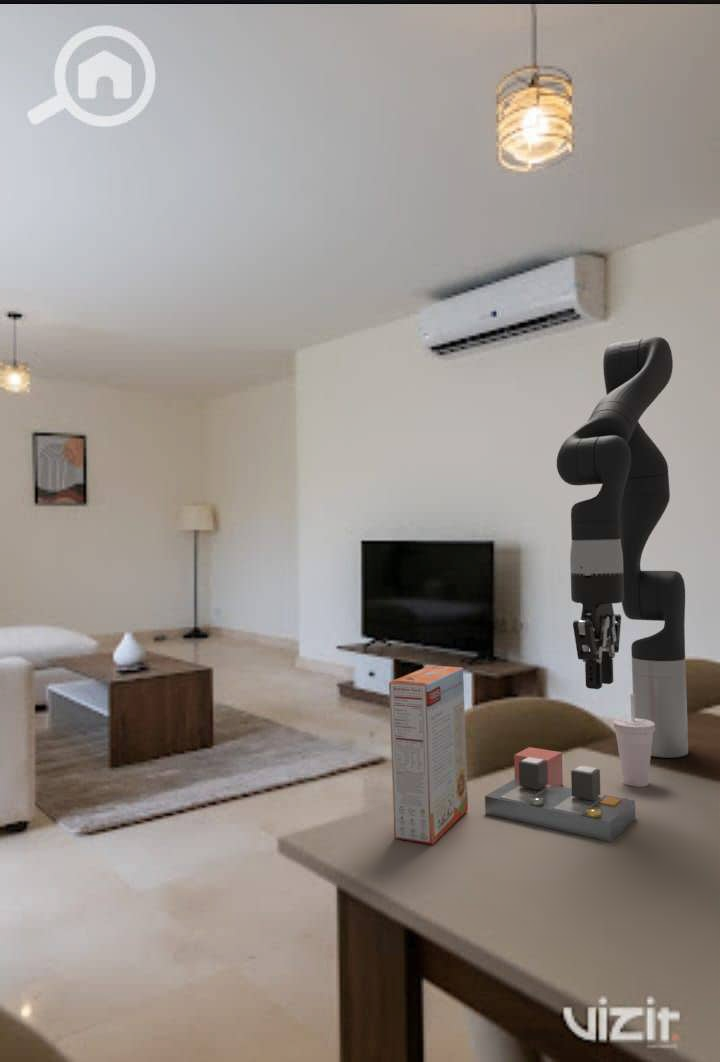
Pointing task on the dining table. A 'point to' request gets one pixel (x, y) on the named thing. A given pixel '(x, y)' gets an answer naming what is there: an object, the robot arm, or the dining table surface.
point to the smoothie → (634, 747)
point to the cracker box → (428, 752)
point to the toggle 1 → (533, 773)
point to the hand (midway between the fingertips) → (599, 685)
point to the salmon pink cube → (552, 763)
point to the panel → (562, 810)
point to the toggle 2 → (585, 782)
